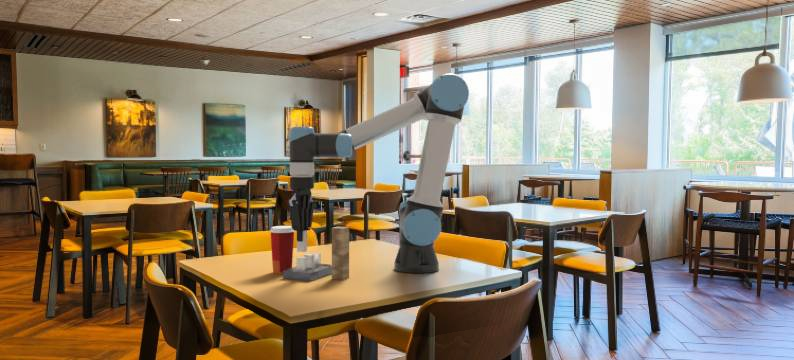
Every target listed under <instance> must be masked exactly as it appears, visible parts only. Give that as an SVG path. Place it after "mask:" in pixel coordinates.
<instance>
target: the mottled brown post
mask: <svg viewBox="0 0 794 360" xmlns="http://www.w3.org/2000/svg"><path fill="white" fill-rule="evenodd" d="M331 265H332V274H331V279H332V280H339V281H345V280H347V279H349V278H350V227H349V226H348V227H347V226H335V227H331Z"/></svg>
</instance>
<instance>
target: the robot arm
mask: <svg viewBox="0 0 794 360" xmlns="http://www.w3.org/2000/svg"><path fill="white" fill-rule="evenodd" d="M469 91H470V90H469V86H468V84H467V82H466V81H465V80H464V78H462V77H461V76H460V75H458V74H455V73H445V74H441V75H439V76H437V77H436V78H435V79H434V80H433V81H432V83H431V84H430V85H429V86H427V87H426V88H425V89H423V90H422V91H419V92H417V93H415V94H414V96H413V98H412V99H409V100H407V101H405V102H403V103H400V104H399V105H397V106H394V107H392V108H390V109H387V110H385V111H383V112H381V113H378V114H376V115H375V116H372V117H370V118H368V119H365V120H363V121H361V122H359V123H357V124H354V125H352V126H350V127H348V128H346V129H343V130H340V132H337V133H336V132H335V133H334V132H332V133H331V132H330V133H319V132H315V128H314V127H312V126H292V127H291V128H290V130H289V141H288V142H289V175H290V178H289V188H290V190H292V194H291V199H287V200H286V203H287V205H288V209H289V215H290V222H291V224H290V225H291V226H292V229H293V230H294V231H295V232H296V252H300V253H306V252H308V231H310V230H311V228H312V224H313V216H314V211H315V210H314V209H315V203H316V201H317V198H316V197H315V196H314V197H313V196H312V191H311V190H312V189H314V188H315V178H314V175H315V158H334V159H335V158H336V159H338V158H339V159H340V158H341V159H344V158H350V157H352V156H353V151H356V150H358V149H360V148H363V147H364V146H366V145H368V144H370V143H373V142H376V141H377V140H380V139H382V138H384V137H387V136H388V135H390V134H393V133H395V132H398V131H400V130H401V129H404V128H406V127H409V126H411V125H413V124H415V123H417V122H420V121H421V120H425V121H427V125H426V130H425V136H424V141H423V146H422V151H421V156H420V159H419V164H418V170H417V175H416V180H415V183H414V184H415V185H414V190H413V194H412V195H411V196H410V197H408V198H407V200H406V201H402V202H401V203H400V205H399V210H398V212H399V247H398V250H397V252H396V257H395V259H394V262H393V263H394V268H393V269H394V270H395V271H398V272H401V273H409V274H425V273H433V272H438V271H439V269H440V267H439V266H440V265H439V264H440V263H439V260H438V256H437V253H436V250H435V245H434V244H435V242H436V241H437V240H438V238H439V236H440V234H441V231H442V222H441V221H442V215H443V210H444V204H443V203H442V201H441V198H442V197H441V196H442V191H443V187H444V181H445V176H446V172H447V168H448V162H449V157H450V152H451V147H452V142H453V138H454V133H455V128H456V126H457V125H458V124H459V123H461V122H462V118H463V113H464V109H465V106H466V104H467V103H468V100H469V95H470V93H469Z"/></svg>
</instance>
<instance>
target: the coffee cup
mask: <svg viewBox="0 0 794 360" xmlns="http://www.w3.org/2000/svg"><path fill="white" fill-rule="evenodd" d="M268 232H270V243H271V258H272V259H271V260H272V272H273V273H272V274H274V275H275V274H276V275H283V270H287V269H290V268H293V259H294V258H293V257H294V256H293V255H294V243H295V242H294V241H295V239H294V238H295V232H296V231H294V230H293V229H292V225H276V226H271V228H270V230H269V231H268Z"/></svg>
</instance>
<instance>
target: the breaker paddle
mask: <svg viewBox="0 0 794 360" xmlns="http://www.w3.org/2000/svg"><path fill="white" fill-rule="evenodd" d="M303 257H307V267H308V268H313V267H314V255H313V254H311V253H304V254H303Z"/></svg>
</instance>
